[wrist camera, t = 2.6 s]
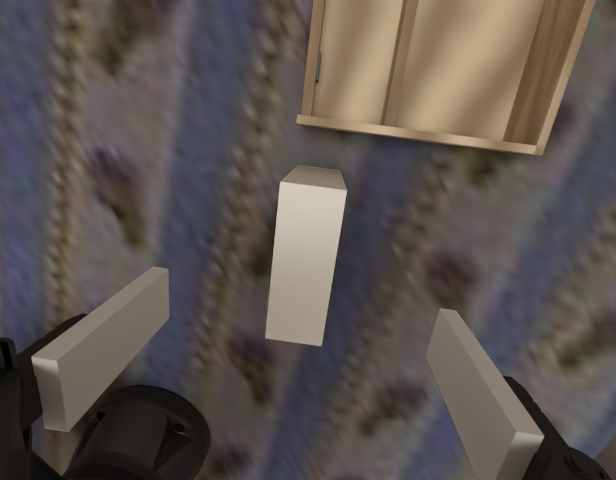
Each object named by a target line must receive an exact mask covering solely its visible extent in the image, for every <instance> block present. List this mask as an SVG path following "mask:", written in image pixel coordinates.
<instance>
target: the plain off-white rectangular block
mask: <svg viewBox="0 0 616 480" xmlns="http://www.w3.org/2000/svg"><path fill="white" fill-rule="evenodd" d="M346 194H347V189H346V186H345V183H344V180H343V177H342V174H341V171H340V170H335V169H328V168H320V167H313V166H305V165H297V166H296V167H295V168H294V169H293V170H292V171H291V172H290V173H289V174H288V175H287V176H286V177H285V178H283V179H282V180H281V181H280V189H279V199H278V209H277V220H276V230H275V241H274V251H273V261H272V272H271V282H270V289H269V290H268V293H267V298H266V304H265V314H267V323H266V334H265V338H267V339H274V340H281V341H288V342H295V343H302V344H309V345H316V346H322V341H323V335H324V328H325V322H326V316H327V310H328V304H329V298H330V292H331V286H332V280H333V273H334V267H335V261H336V255H337V249H338V243H339V237H340V231H341V225H342V218H343V212H344V206H345V200H346Z"/></svg>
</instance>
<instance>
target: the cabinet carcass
mask: <svg viewBox="0 0 616 480" xmlns="http://www.w3.org/2000/svg"><path fill="white" fill-rule="evenodd" d="M595 1H596V0H314V1H313V10H312V19H311V28H310V37H309V46H308V55H307V65H306V74H305V83H304V92H303V101H302V110H301V115H297V124H300V125H302V126H309V127H317V128H324V129H332V130H339V131H347V132H355V133H362V134H370V135H378V136H385V137H393V138H400V139H408V140H416V141H423V142H431V143H439V144H446V145H454V146H462V147H469V148H477V149H484V150H492V151H500V152H511V153H522V154H533V155H543V152H544V149H545V146H546V143H547V140H548V137H549V134H550V131H551V128H552V126H553V123H554V120H555V117H556V114H557V111H558V108H559V105H560V102H561V99H562V97H563V94H564V91H565V88H566V85H567V82H568V79H569V76H570V73H571V70H572V68H573V65H574V62H575V59H576V56H577V53H578V50H579V47H580V44H581V41H582V38H583V36H584V33H585V30H586V27H587V24H588V21H589V18H590V15H591V12H592V9H593V7H594V4H595Z"/></svg>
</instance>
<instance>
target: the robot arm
mask: <svg viewBox="0 0 616 480" xmlns="http://www.w3.org/2000/svg"><path fill="white" fill-rule="evenodd" d="M168 319H169V277H168V269H166V268H159V267H152V268H150V269H149V270H148V271H146V272H145V273H144V274H142V275H141V276H139V277H138V278H137V279H135V280H134V281H133V282H131V283H130V284H129V285H127V286H126V287H125V288H123V289H122V290H121V291H119V292H118V293H117V294H115V295H114V296H113V297H111V298H110V299H108V300H107V301H106V302H104V303H103V304H102V305H100V306H99V307H98V308H96V309H95V310H94V311H92V312H91V313H90V314H80V315H78V316H75V317H73V318H71V319H68V320H66V321H65V322H64V323H62V324H61V325H59V326H58V327H56V328H55V330H52V331H51V332H49V333H48V334H46V335H45V337H42V338H41V339H39V340H38V341H37V342H35V343H34V344H32V345H31V346H29V347H28V348H27V349H25V350H24V351H22V352H21V353H19V354H18V355H17V354H16V349H15V344H14V341H13V340H11V339H9V338H0V480H193V479H194V478H195V477H196V475H197V474H198V472H199V471H200V469H201V467H202V465H203V462H204V459H205V457H206V454H207V452H208V448H209V442H210V438H209V432H208V428H207V426H206V424H205V422H204V420H203V418H202V417H201V415H200V414H199V413H198V412H197V411H196V409H195V408H194V407H192V406H191V405H190V404H189V403H188V402H186V401H185V400H184V399H182V398H180V397H179V396H177V395H175V394H173V393H170V392H168V391H165V390H162V389H159V388H154V387H147V386H134V387H127V388H123V389H120V390H118V391H116V392H114V393H112V394H110V395H109V396H108V397H107V398H105V400H104V401H103V402H102V403H101V404H100V405H99V406H98V408H97V409H96V410H95V411H94V412H93V414H92V415H91V417H90V418H89V420H88V422H87V424H86V426H85V429H84V431H83V433H82V436H81V438H80V440H79V443H78V445H77V447H76V450H75V452H74V454H73V457H72V459H71V461H70V464H69V466H68V468H67V470H66V472H65V473H64V474H63V476H62V477H61V476H60V475H59V474H58V473H57V472H56V471H55V470H54V469H53V468H52V467H50V466H49V465H48V464H47V463H46V462H45V461H44V460H43V459H42V458H41V457H39V456H38V455H37V454H36V453H35V452H34V451H33V450H32V434H33V432H32V427H31V424H32V423H33V422H34V421H35V420H37V419H38V418H39V417H40V416H41V415H42V417H43V423H44V428H45V429H50V430H57V431H63V432H69V431H70V430H71V428H72V427H73V426H74V425H75V424H76V423H77V422H78V421H79V419H80V418H81V417H82V416H83V415H84V414H85V413H86V412H87V410H88V409H89V408H90V407H91V406H92V405H93V404H94V402H95V401H96V400H97V399H98V398H99V397H100V396H101V395H102V393H103V392H104V391H105V390H106V389H107V388H108V387H109V385H110V384H111V383H112V382H113V381H114V380H115V379H116V378H117V376H118V375H119V374H120V373H121V372H122V371H123V370H124V368H125V367H126V366H127V365H128V364H129V363H130V362H131V361H132V359H133V358H134V357H135V356H136V355H137V354H138V353H139V352H140V350H141V349H142V348H143V347H144V346H145V345H146V344H147V342H148V341H149V340H150V339H151V338H152V337H153V336H154V335H155V333H156V332H157V331H158V330H159V329H160V328H161V327H162V325H163V324H164V323H165V322H166V321H167V320H168ZM426 358H427V360H428V363H429V365H430V367H431V370H432V372H433V374H434V377H435V379H436V381H437V384H438V386H439V389H440V391H441V393H442V396H443V398H444V400H445V403H446V405H447V407H448V410H449V412H450V415H451V417H452V419H453V422H454V424H455V426H456V429H457V431H458V433H459V436H460V438H461V441H462V443H463V445H464V448H465V450H466V452H467V455H468V457H469V459H470V462H471V464H472V467H473V469H474V471H475V474H476V476H477V478H478V480H612V479H610V477H609V476H608V474H607V473H606V471H605V470H604V469H603V468H602V467H601V466H600V465H599V464H598V463H597V462H596V461H595V460H593V459H592V458H590V457H589V456H587V455H586V454H584V453H583V452H581V451H578V450H576V449H574V448H572V447H569V446H568V445H567V444H566V442H565V441H564V440H563V438H562V437H561V436H560V434H559V433H558V432H557V430H556V429H555V428H554V426H553V425H552V424H551V422H550V421H549V420H548V418H547V417H546V416H545V415H544V413H543V412H541V409H540V408H539V407H538V405H537V404H536V403H535V402H533V399H532V397H531V396H530V395H529V393H528V392H527V391H526V389H525V388H524V387H523V386H521V385H520V384H519V383H518V382H517V381H515V380H514V379H513V378H512V377H508V376H502V375H501V374H500V372H499V371H498V369H497V368H496V366H495V365H494V364H493V362H492V361H491V359H490V358H489V357H488V355H487V354H486V352H485V351H484V349H483V348H482V347H481V345H480V344H479V342H478V341H477V339H476V338H475V337H474V335H473V334H472V332H471V331H470V330H469V328H468V327H467V325H466V324H465V322H464V321H463V320H462V318H461V317H460V315H459V314H458V312H457V311H456V310H449V309H442V308H440V309H439V313H438V316H437V320H436V323H435V326H434V330H433V333H432V337H431V340H430V344H429V347H428V350H427V354H426Z"/></svg>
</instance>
